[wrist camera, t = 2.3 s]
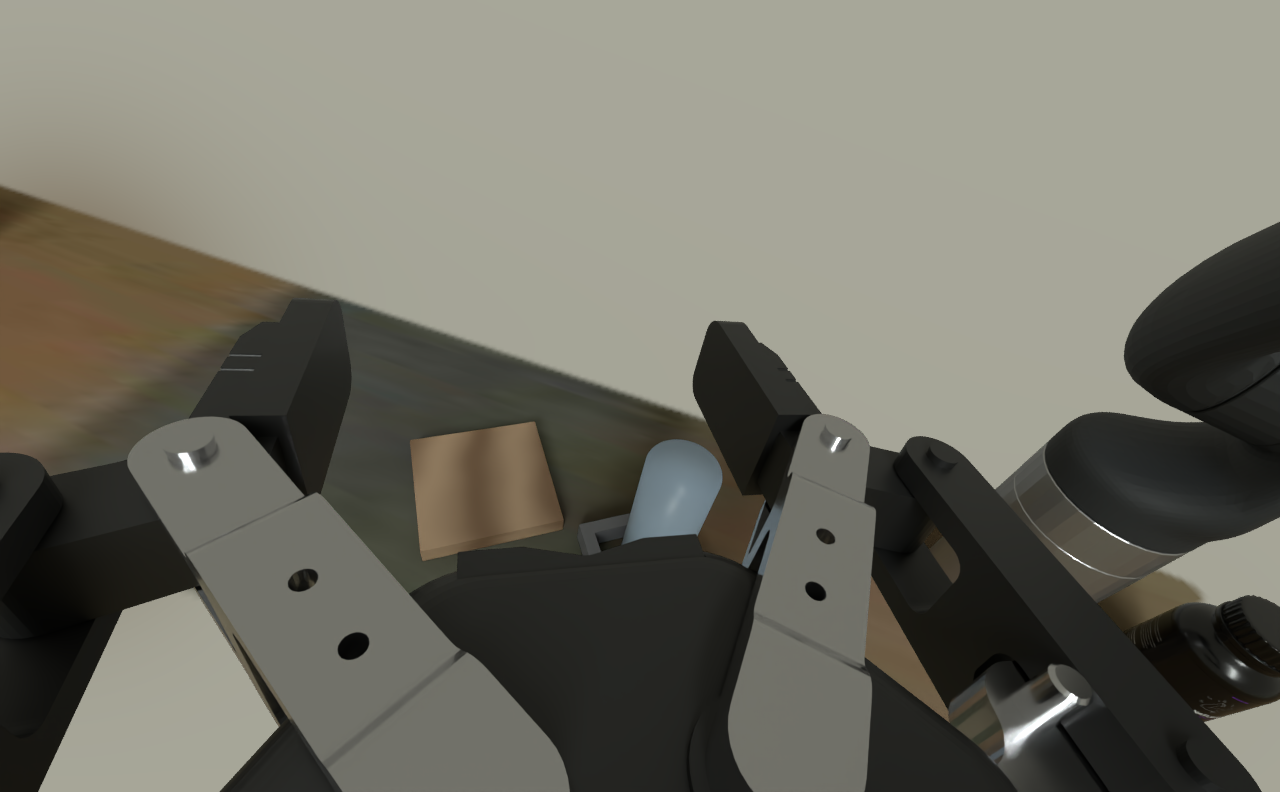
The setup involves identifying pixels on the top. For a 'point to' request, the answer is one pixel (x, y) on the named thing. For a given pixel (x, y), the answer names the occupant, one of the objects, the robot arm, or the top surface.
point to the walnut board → (482, 489)
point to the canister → (674, 491)
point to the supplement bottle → (1216, 653)
